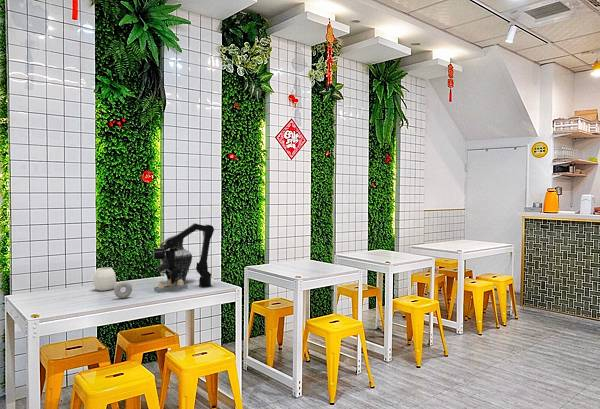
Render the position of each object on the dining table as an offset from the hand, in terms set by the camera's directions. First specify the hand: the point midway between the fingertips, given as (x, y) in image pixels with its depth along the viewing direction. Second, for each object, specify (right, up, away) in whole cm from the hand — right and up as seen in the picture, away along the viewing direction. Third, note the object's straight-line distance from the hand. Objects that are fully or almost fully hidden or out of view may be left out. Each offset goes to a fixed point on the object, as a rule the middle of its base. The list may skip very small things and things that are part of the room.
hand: (171, 283), depth 303 cm
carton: (0, -4, 0) cm, 4 cm away
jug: (-2, -3, +23) cm, 23 cm away
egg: (0, -2, 0) cm, 2 cm away
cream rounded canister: (-42, -4, +2) cm, 42 cm away
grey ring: (-21, -5, -23) cm, 32 cm away
